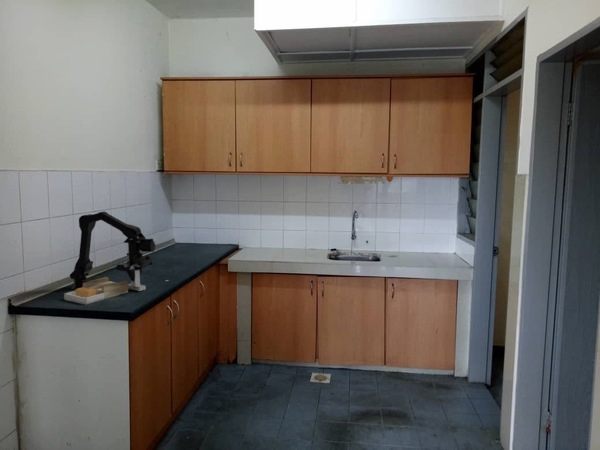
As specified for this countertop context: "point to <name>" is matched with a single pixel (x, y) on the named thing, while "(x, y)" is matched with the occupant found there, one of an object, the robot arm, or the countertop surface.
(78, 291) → the matte ochre cube
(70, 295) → the chip tray
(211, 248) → the countertop surface
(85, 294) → the tan cardboard cube
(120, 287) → the slot block
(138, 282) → the scraper
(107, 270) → the countertop surface
